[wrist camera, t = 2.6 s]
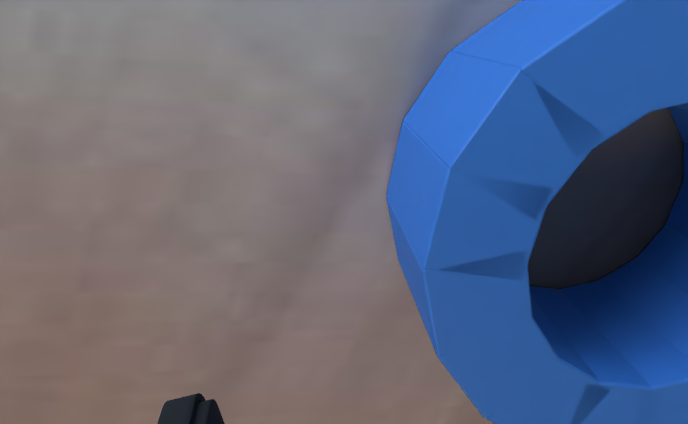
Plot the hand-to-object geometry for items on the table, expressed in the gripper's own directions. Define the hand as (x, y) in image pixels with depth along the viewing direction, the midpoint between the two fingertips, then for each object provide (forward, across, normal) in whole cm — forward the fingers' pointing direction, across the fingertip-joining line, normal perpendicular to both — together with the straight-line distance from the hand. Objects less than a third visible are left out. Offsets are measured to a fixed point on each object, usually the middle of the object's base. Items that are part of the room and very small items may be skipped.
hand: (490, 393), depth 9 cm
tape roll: (+7, -5, 0) cm, 9 cm away
